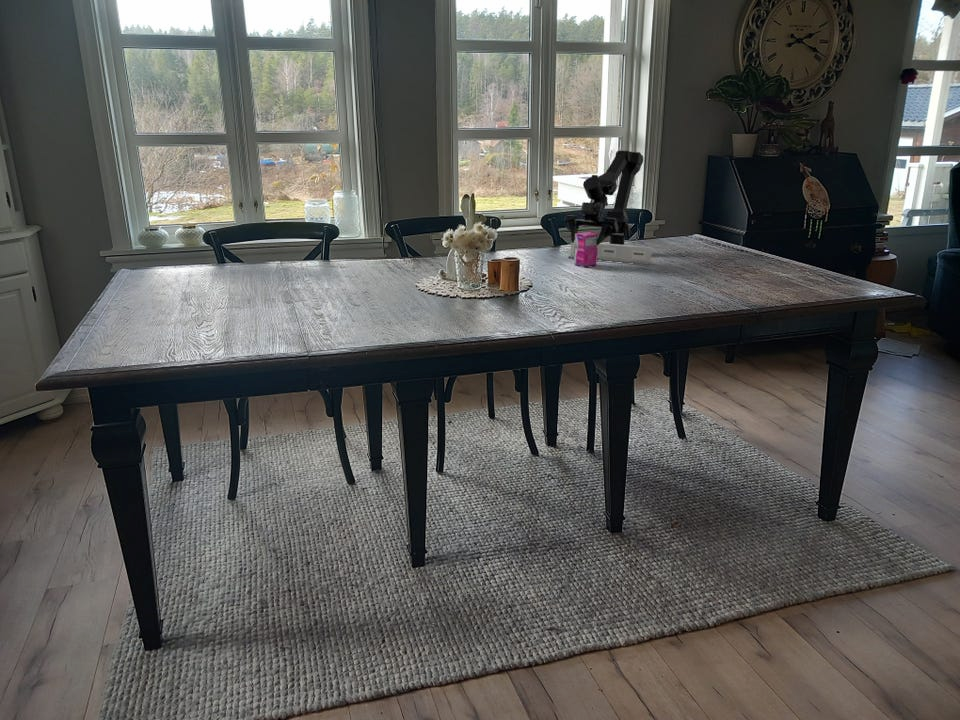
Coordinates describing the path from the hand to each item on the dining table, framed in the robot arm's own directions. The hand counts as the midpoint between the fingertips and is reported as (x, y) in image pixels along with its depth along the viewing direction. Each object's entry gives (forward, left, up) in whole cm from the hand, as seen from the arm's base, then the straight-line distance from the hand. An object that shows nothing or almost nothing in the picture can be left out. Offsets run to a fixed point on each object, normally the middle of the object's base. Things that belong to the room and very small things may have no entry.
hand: (584, 243), depth 253 cm
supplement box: (-2, 0, -8) cm, 9 cm away
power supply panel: (-14, +5, -8) cm, 17 cm away
